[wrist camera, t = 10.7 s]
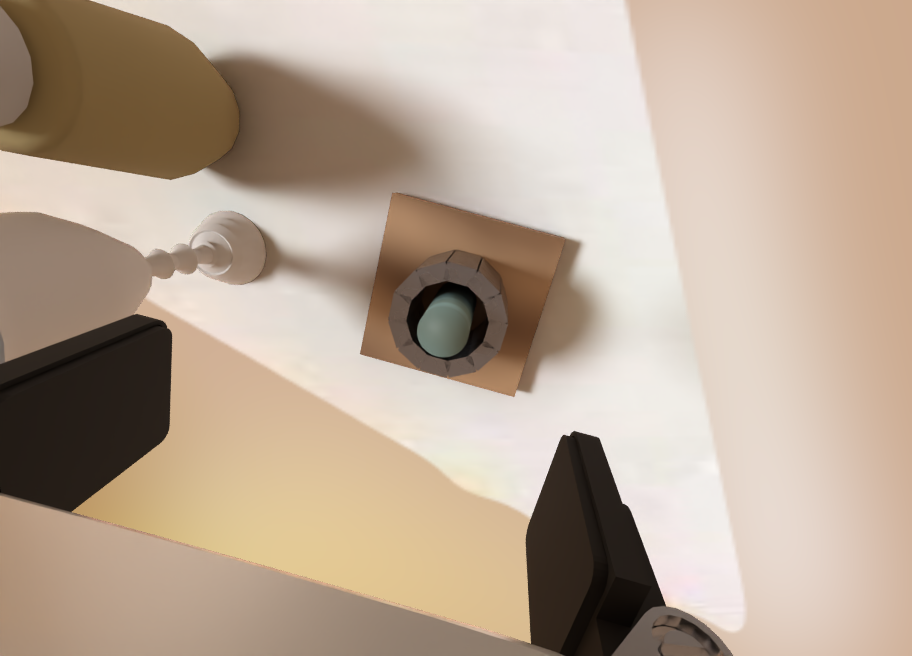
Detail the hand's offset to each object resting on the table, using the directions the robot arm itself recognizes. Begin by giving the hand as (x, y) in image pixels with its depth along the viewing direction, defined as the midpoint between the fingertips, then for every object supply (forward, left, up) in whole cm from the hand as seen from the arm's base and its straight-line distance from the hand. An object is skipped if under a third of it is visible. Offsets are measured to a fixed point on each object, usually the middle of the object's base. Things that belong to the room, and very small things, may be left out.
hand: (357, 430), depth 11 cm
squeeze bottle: (-6, -18, -21) cm, 28 cm away
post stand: (+1, +1, -21) cm, 21 cm away
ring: (+1, +1, -20) cm, 20 cm away
